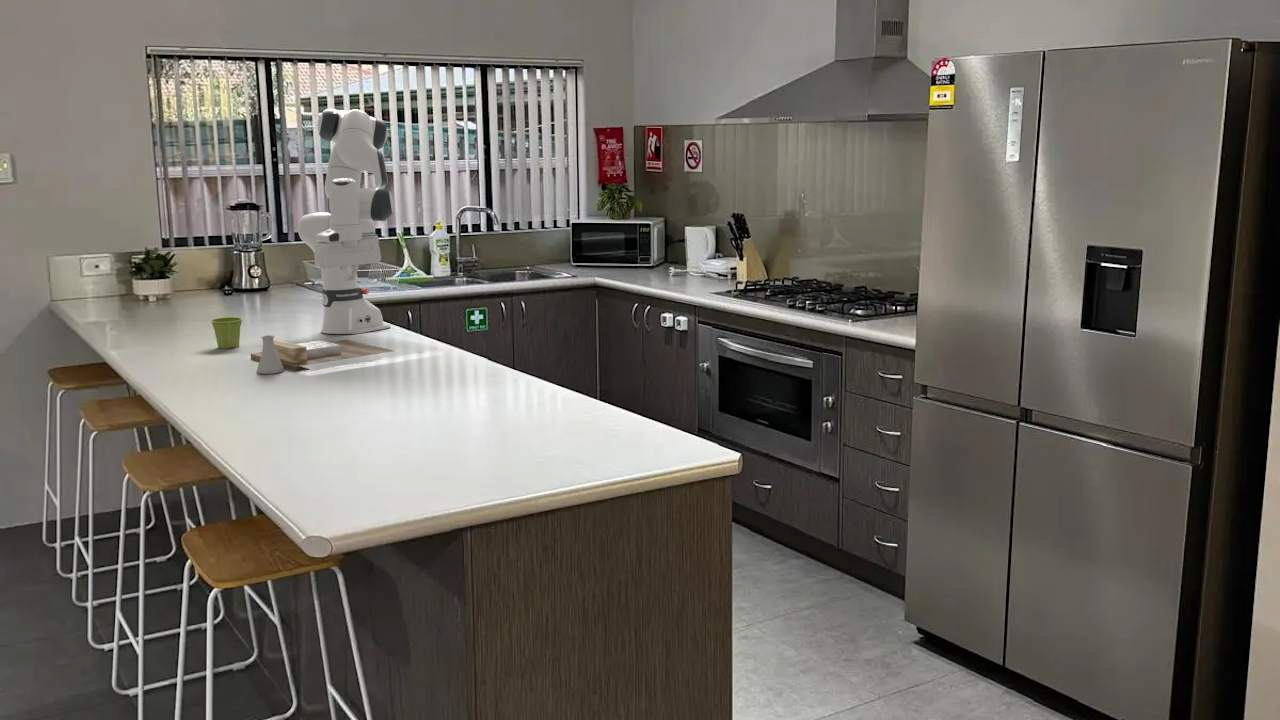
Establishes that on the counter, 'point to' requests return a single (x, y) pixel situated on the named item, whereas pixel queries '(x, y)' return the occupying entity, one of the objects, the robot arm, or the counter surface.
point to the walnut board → (347, 351)
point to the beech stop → (290, 351)
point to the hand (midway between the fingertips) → (350, 280)
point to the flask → (269, 358)
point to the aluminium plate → (320, 348)
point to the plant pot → (227, 331)
